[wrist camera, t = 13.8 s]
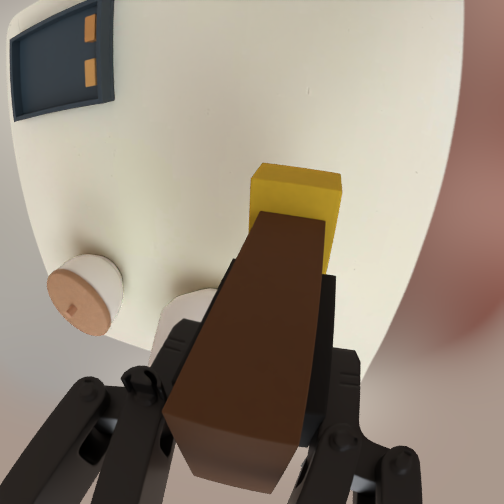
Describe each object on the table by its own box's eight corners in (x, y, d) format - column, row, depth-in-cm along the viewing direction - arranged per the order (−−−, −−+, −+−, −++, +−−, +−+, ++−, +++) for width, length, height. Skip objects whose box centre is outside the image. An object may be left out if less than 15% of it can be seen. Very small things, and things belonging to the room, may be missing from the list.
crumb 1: (103, 14, 21) (94, 13, 20) (102, 39, 22) (94, 39, 21) (93, 17, 21) (84, 17, 20) (92, 42, 23) (84, 42, 22)
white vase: (160, 314, 42) (114, 390, 31) (196, 254, 35) (137, 344, 24) (238, 361, 44) (210, 441, 33) (292, 314, 37) (270, 416, 25)
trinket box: (130, 312, 44) (100, 356, 37) (77, 278, 44) (42, 315, 36) (141, 265, 38) (102, 313, 30) (80, 228, 37) (35, 266, 30)
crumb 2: (102, 57, 24) (94, 58, 22) (103, 83, 25) (95, 85, 24) (93, 59, 24) (84, 60, 23) (94, 85, 26) (85, 87, 24)
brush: (262, 162, 15) (121, 366, 5) (340, 173, 14) (343, 419, 4) (254, 296, 20) (186, 479, 10) (314, 307, 19) (279, 501, 9)
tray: (114, -4, 20) (102, -6, 18) (114, 100, 27) (102, 103, 25) (21, 37, 23) (9, 39, 21) (24, 118, 30) (13, 122, 28)
